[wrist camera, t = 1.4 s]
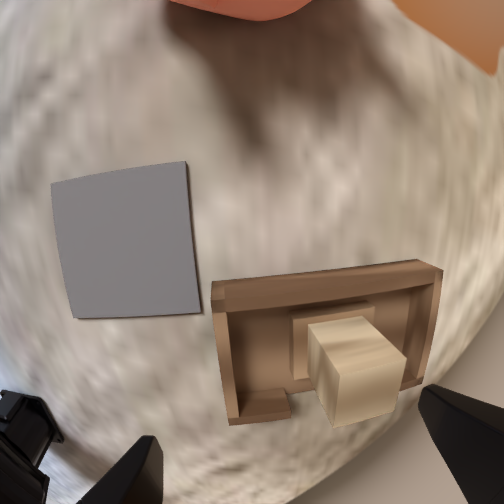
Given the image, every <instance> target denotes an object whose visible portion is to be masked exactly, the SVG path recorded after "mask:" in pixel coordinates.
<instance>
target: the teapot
mask: <svg viewBox="0 0 504 504" xmlns="http://www.w3.org/2000/svg"><path fill="white" fill-rule="evenodd" d="M170 1H173V2H177V3H180V4H183V5H187V6H190V7H194V8H198V9H201V10H206V11H210V12H214V13H218V14H222V15H226V16H231V17H235V18H240V19H245V20H252V21H269V20H272V19H277V18H281V17H283V16H286V15H289V14H291V13H293V12H295V11H297V10H299V9H300V8H302V7H304V6H305V5H306V4H308V3H309V2H310V1H312V0H170Z"/></svg>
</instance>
